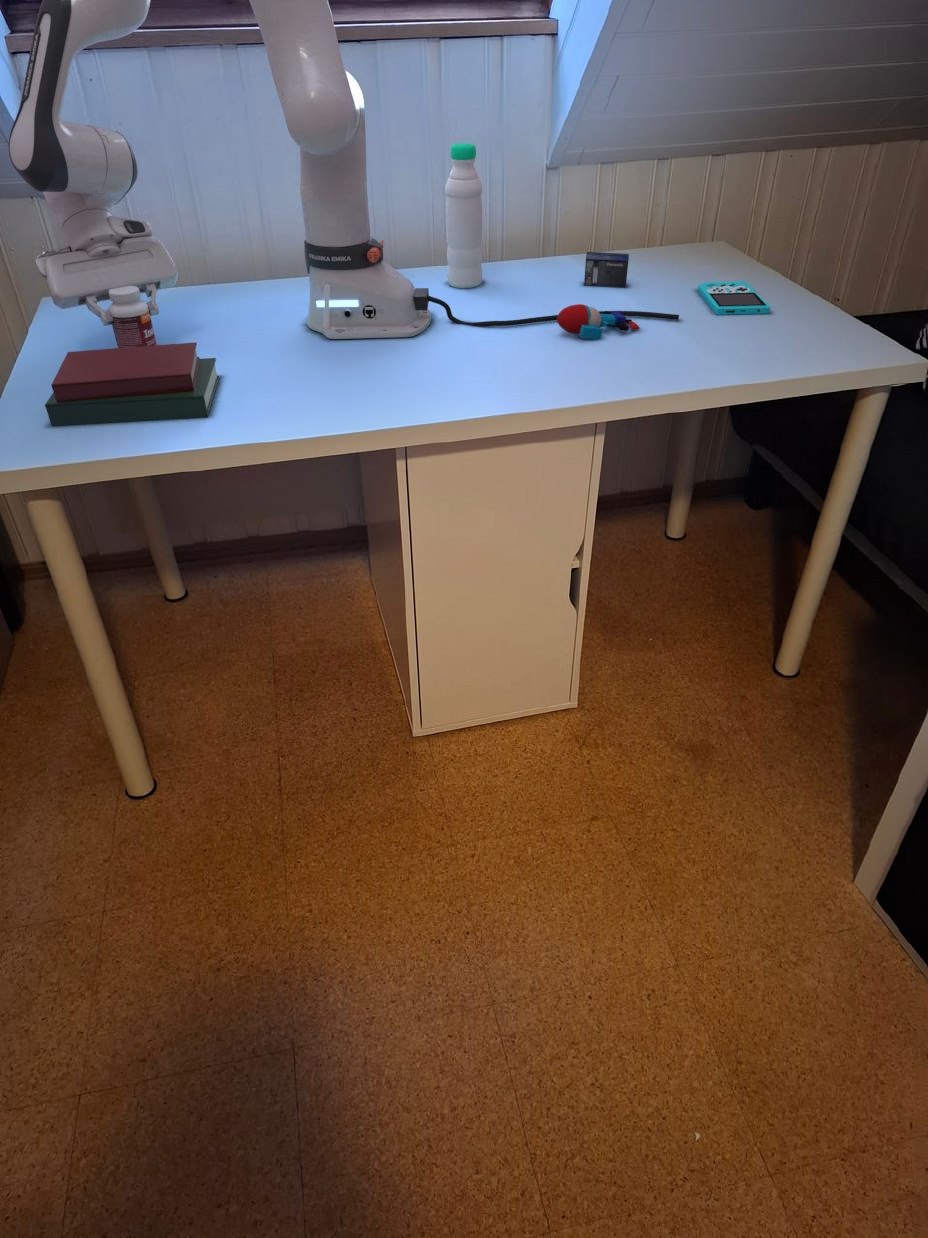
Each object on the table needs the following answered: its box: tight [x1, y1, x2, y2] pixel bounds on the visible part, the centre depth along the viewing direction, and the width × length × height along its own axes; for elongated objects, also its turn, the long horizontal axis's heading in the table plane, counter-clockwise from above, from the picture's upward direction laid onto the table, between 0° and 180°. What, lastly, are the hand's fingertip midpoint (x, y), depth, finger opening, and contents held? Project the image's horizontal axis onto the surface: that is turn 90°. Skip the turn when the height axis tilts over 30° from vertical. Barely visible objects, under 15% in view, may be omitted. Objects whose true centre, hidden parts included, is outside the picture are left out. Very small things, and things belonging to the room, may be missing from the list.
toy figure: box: [556, 303, 641, 340], centre depth 151 cm, size 8×5×15 cm
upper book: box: [51, 341, 201, 402], centre depth 128 cm, size 19×13×3 cm
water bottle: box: [444, 142, 483, 289], centre depth 167 cm, size 7×7×25 cm
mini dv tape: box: [583, 251, 630, 289], centre depth 171 cm, size 8×2×6 cm, turn 77°
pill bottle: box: [108, 286, 158, 348], centre depth 142 cm, size 6×6×11 cm
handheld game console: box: [697, 280, 771, 316], centre depth 164 cm, size 10×16×1 cm, turn 2°
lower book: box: [44, 357, 220, 427], centre depth 130 cm, size 22×15×3 cm
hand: (132, 318), depth 141 cm, fingers closed on pill bottle, 6 cm apart
